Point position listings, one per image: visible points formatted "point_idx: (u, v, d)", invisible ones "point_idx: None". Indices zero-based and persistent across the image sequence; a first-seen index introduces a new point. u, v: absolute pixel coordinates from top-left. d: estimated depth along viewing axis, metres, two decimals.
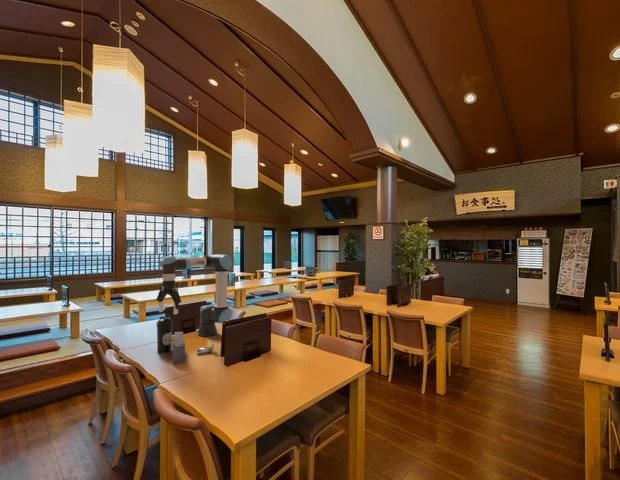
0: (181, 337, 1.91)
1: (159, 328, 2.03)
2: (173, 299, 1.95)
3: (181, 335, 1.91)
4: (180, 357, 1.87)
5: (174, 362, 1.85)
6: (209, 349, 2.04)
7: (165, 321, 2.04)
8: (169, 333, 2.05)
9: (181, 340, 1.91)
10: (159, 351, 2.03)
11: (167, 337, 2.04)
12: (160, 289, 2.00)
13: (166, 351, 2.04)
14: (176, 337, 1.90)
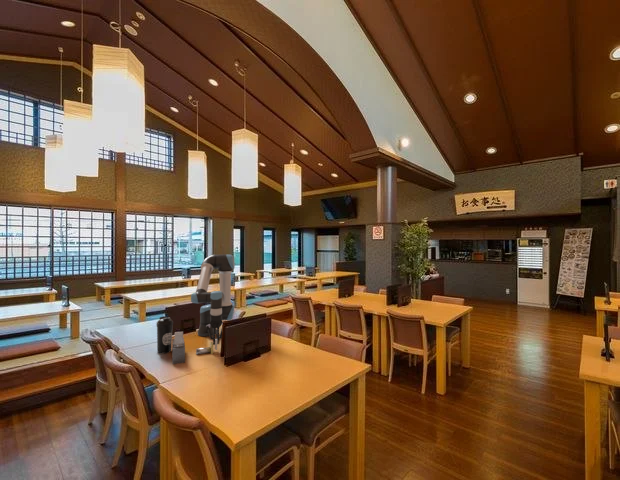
0: (181, 337, 1.91)
1: (159, 328, 2.03)
2: None
3: (181, 335, 1.91)
4: (180, 357, 1.87)
5: (174, 362, 1.85)
6: (208, 349, 2.04)
7: (165, 321, 2.04)
8: (169, 333, 2.05)
9: (181, 340, 1.91)
10: (159, 351, 2.03)
11: (167, 337, 2.04)
12: None
13: (166, 351, 2.04)
14: (176, 337, 1.90)
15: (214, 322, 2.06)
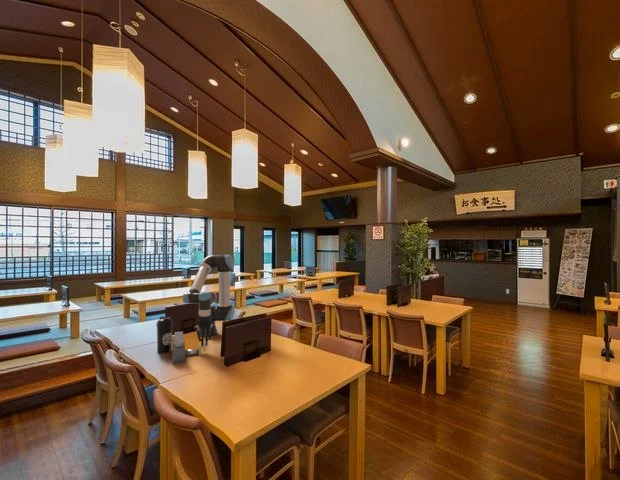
0: (181, 337, 1.91)
1: (159, 328, 2.03)
2: None
3: (181, 335, 1.91)
4: (180, 357, 1.87)
5: (174, 362, 1.85)
6: (196, 351, 2.00)
7: (165, 321, 2.04)
8: (170, 333, 2.05)
9: (181, 340, 1.91)
10: (159, 351, 2.03)
11: (167, 337, 2.04)
12: None
13: (166, 351, 2.04)
14: (176, 337, 1.90)
15: (202, 323, 2.03)
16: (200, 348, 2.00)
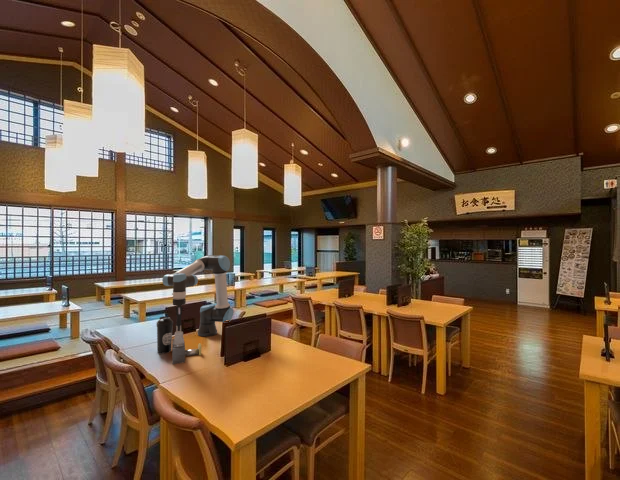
0: (181, 337, 1.91)
1: (159, 328, 2.03)
2: None
3: (181, 335, 1.91)
4: (180, 357, 1.87)
5: (174, 362, 1.85)
6: (196, 351, 2.00)
7: (165, 321, 2.04)
8: (169, 333, 2.05)
9: (181, 340, 1.91)
10: (159, 351, 2.03)
11: (167, 337, 2.04)
12: None
13: (166, 351, 2.04)
14: (176, 337, 1.90)
15: None
16: (200, 348, 2.00)
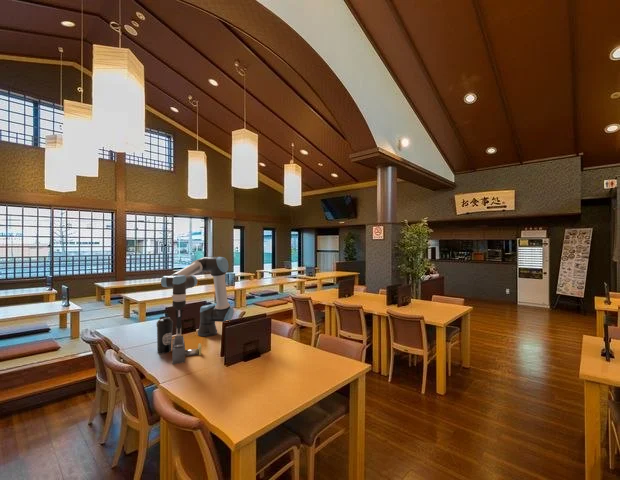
0: (181, 340, 1.89)
1: (159, 328, 2.03)
2: None
3: (181, 338, 1.89)
4: (180, 357, 1.87)
5: (174, 362, 1.85)
6: (196, 351, 2.00)
7: (165, 321, 2.04)
8: (169, 333, 2.05)
9: (181, 342, 1.90)
10: (159, 351, 2.03)
11: (167, 337, 2.04)
12: None
13: (166, 351, 2.04)
14: (176, 340, 1.88)
15: None
16: (200, 348, 2.00)
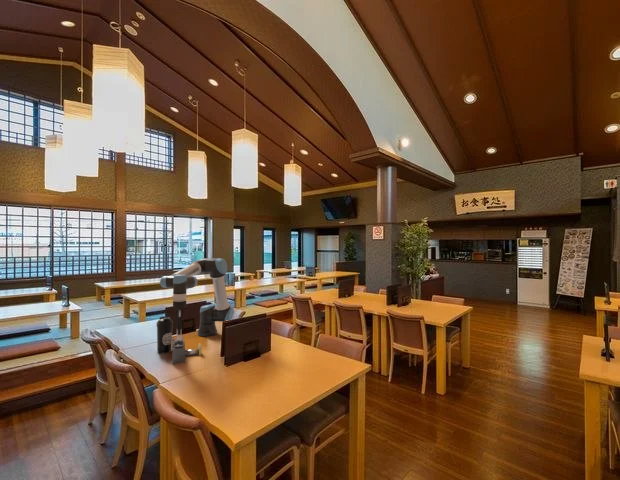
0: (181, 342, 1.88)
1: (159, 328, 2.03)
2: None
3: (181, 342, 1.87)
4: (180, 357, 1.87)
5: (174, 362, 1.85)
6: (196, 351, 2.00)
7: (165, 321, 2.04)
8: (169, 333, 2.05)
9: (181, 343, 1.90)
10: (159, 351, 2.03)
11: (167, 337, 2.04)
12: None
13: (166, 351, 2.04)
14: (176, 343, 1.87)
15: (181, 309, 1.84)
16: (200, 348, 2.00)
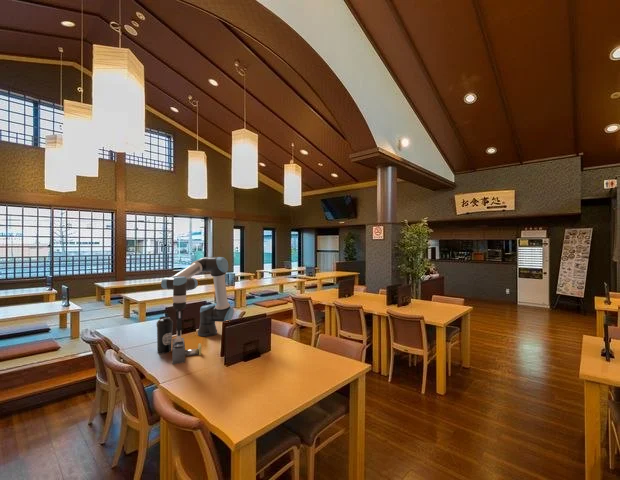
0: (181, 342, 1.88)
1: (159, 328, 2.03)
2: None
3: (181, 342, 1.87)
4: (180, 357, 1.87)
5: (174, 362, 1.85)
6: (196, 351, 2.00)
7: (165, 321, 2.04)
8: (169, 333, 2.05)
9: (181, 343, 1.90)
10: (159, 351, 2.03)
11: (167, 337, 2.04)
12: None
13: (166, 351, 2.04)
14: (176, 343, 1.87)
15: None
16: (200, 348, 2.00)
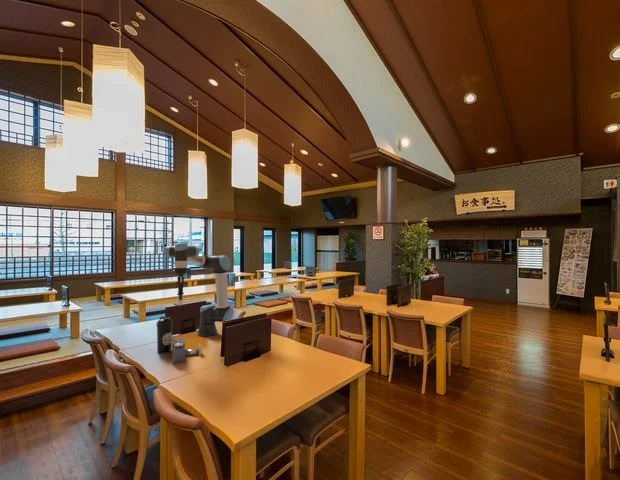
0: None
1: (159, 328, 2.03)
2: (178, 289, 1.92)
3: None
4: (180, 357, 1.87)
5: (174, 362, 1.85)
6: (196, 351, 2.00)
7: (165, 321, 2.04)
8: (169, 333, 2.05)
9: None
10: (159, 351, 2.03)
11: (167, 337, 2.04)
12: None
13: (166, 351, 2.04)
14: (176, 345, 1.86)
15: None
16: (200, 348, 2.00)
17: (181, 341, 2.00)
